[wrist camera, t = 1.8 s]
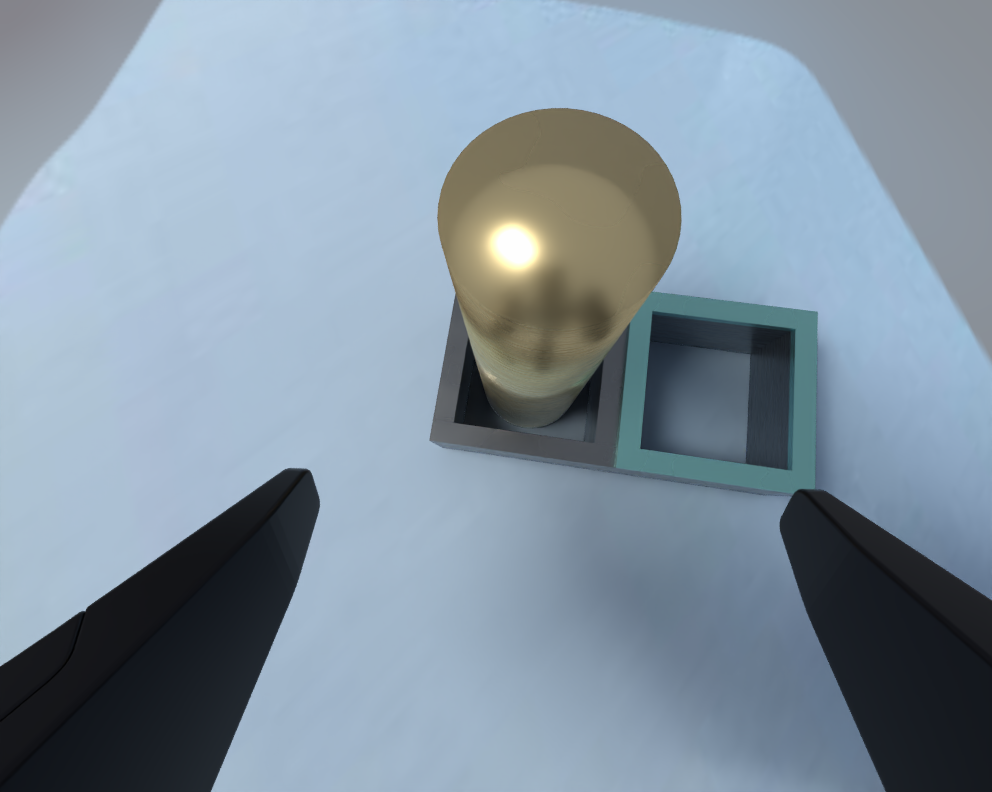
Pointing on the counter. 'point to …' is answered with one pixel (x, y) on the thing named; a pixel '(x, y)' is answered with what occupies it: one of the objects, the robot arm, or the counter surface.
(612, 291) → the brass post
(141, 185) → the counter surface
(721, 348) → the hole rail
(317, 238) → the counter surface
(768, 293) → the counter surface
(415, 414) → the counter surface
